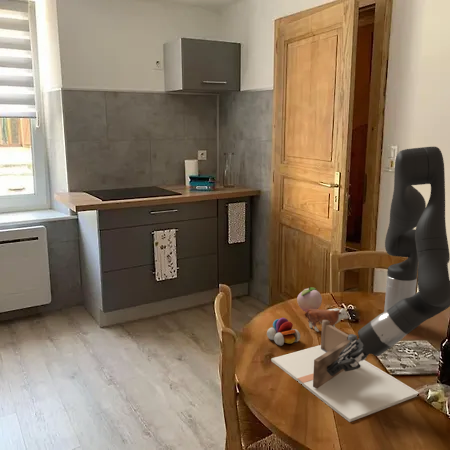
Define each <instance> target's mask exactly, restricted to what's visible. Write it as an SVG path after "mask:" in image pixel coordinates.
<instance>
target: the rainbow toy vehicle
mask: <svg viewBox="0 0 450 450" xmlns="http://www.w3.org/2000/svg"><path fill="white" fill-rule="evenodd" d="M293 326H294V325H293V322H292V321H289V320H288V319H287V318H286V317H280V318H277V319H275V320H273V323H272V327H269V328H268V329H267V331H266V336H267V338H268V339H269V340H270V341H273V342H274V343H275V344H276V345H278V346H280V347H281V346H283V345H284V343H285V344H293V343H298V342H299V341H300V339H301V333H300V332H299V330H298V329H296V328H295V329H294V328H293Z"/></svg>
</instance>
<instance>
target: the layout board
mask: <svg viewBox="0 0 450 450" xmlns="http://www.w3.org/2000/svg"><path fill="white" fill-rule="evenodd" d="M335 327H336V326H335ZM335 327H333V326H332V325H330V323H329V321H328V320H322V325H321V339H320V340H321V341H320V344H318V345H316V346H311V347H308V348H305V349H301V350H298V351H293V352H290V353H288V354H283V355H279V356H275V357H272V358H271V359H270V361H271V362H272V363H273V364H274V365H276V366H277V367H279V369H281V370H282V371H283V372H284V373H286V374H288V376H290V377H291V378H292V379H294V380H295V381H296V382H297V381H298V382H297V383H298V384H300V385H301V384H302V385H301V386H302V387H304V388H305V389H307V390H308V391H309V392H310V393H311V394H313V395H315V397H316V398H318V399H320V401H322V402H323V403H324V404H326V405H327V406H328V407H329V408H331V409H332V410H333V411H335V412H336V413H337V414H338V415H340V416H341V417H342V419H345V420H346V421H347V422H349V423H351V422H354V421H356V420H359V419H362V418H364V417H367V416H369V415H373V414H375V413H377V412H380V411H382V410H385V409H388V408H390V407H393V406H396V405H398V404H401V403H403V402H405V401H406V402H407V401H408V400H411V399H413V398H416V397H418V396H417V395H418V394H419V395H420V392H419V391H417V390H415V389H414V388H413V387H410V386H409V385H407V384H406V383H404V382H402V381H401V380H399V379H397V378H395V377H394V376H392V375H391V374H389V373H387V372H385V371H383V370H382V369H381V368H379V367H377V366H375V365H373V364H372V363H371V362H369V361H367V360H366V359H364V360H363V361H360V362H359V364H360V365H361V366H360V368H358V369H355V370H351V371H346V372H345V371H344V370H343V371H342V372H341V373H339V374H338V375H336V376H335V377H333V378H332V379H330V380H329V381H327V382H326V383H324V384H323V385H322V386H320V387H319V388H314V387H313V375H314V360H315V359H316V358H318V357H320V356H321V355H323V354H325V353H326V352H328V351H330V350H331V349H333V348H335V347H336V346H338V345H340V344H341V343H343V342H344V341H346V340H350V341H351V340H352V339H353V338H355V339H356V340H358V335H356V334H353V333H352V334H351V333H350V334H347V333H346V332H344V331H342V330H340V329H339V328H337V327H336V328H335Z"/></svg>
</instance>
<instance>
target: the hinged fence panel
mask: <svg viewBox="0 0 450 450" xmlns="http://www.w3.org/2000/svg"><path fill="white" fill-rule="evenodd" d="M349 342H350V340H346V341H344V342H343V343H341V344H340V345H338V346H336V347H335V348H333V349H331V350H330V351H328V352H326V353H325V354H323V355H321V356H320V357H318V358H316V359H315V360H314V375H313V387H314V388H319V387H320V386H322V385H323V384H324V383H326V382H327V381H329V380H330V379H332V378H333V377H335V376H336V375H338V374H339V373H341V372H342V371H343V370H344V369H342V370H341V371H339V372H338V373H336V374H335V375H334V376H331V375H330V374H329V373H328V372H327V367H328V366H329V365H331V364H332V363H333V362H335V361H336V360H338V359H337V358H338V357H339V356H340V352H341V351H342V350H343V349H344V348H345V347H346V346H347V344H348V343H349Z"/></svg>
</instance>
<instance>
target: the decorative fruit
mask: <svg viewBox="0 0 450 450" xmlns="http://www.w3.org/2000/svg"><path fill="white" fill-rule="evenodd" d="M296 302H297V304H298V307H299V309H301V310H302V311H303V312H305V313H307V311H308V310H309V309H318V310H319V309H320V307H321V306H322V302H323V298H322V295H321V293H320V291H318V290H317V288H315V287H312V286H308V288H304V289H303V290H302V291H301V292H300V293H299V294H298V295H297V298H296Z"/></svg>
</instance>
